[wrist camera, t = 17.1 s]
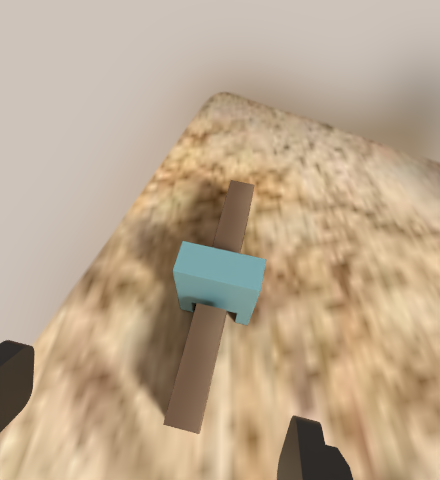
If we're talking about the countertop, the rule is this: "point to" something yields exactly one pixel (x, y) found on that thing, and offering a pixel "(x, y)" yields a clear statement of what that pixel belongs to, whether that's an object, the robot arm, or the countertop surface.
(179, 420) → the walnut slotted plate
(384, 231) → the countertop surface
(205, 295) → the teal notched bridge block
